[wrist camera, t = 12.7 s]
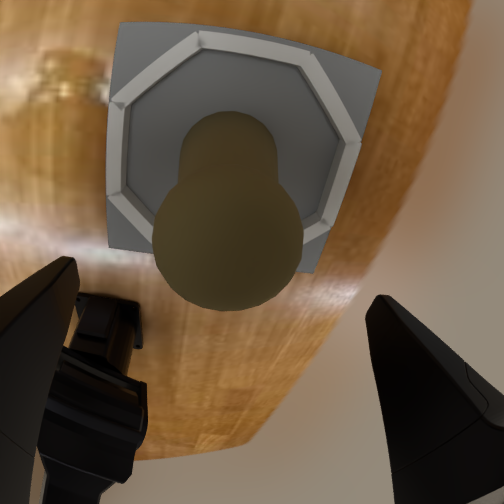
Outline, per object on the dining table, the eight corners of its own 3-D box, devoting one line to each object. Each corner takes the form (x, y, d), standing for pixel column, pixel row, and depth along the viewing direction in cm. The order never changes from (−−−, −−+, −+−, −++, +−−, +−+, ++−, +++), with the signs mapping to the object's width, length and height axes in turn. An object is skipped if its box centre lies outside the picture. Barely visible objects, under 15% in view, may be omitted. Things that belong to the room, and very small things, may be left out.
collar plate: (311, 269, 24) (316, 283, 23) (110, 244, 22) (103, 257, 20) (378, 70, 15) (390, 71, 14) (122, 23, 13) (112, 20, 11)
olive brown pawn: (295, 136, 17) (365, 229, 8) (250, 214, 20) (268, 350, 11) (203, 95, 16) (164, 139, 7) (166, 181, 19) (114, 305, 10)
